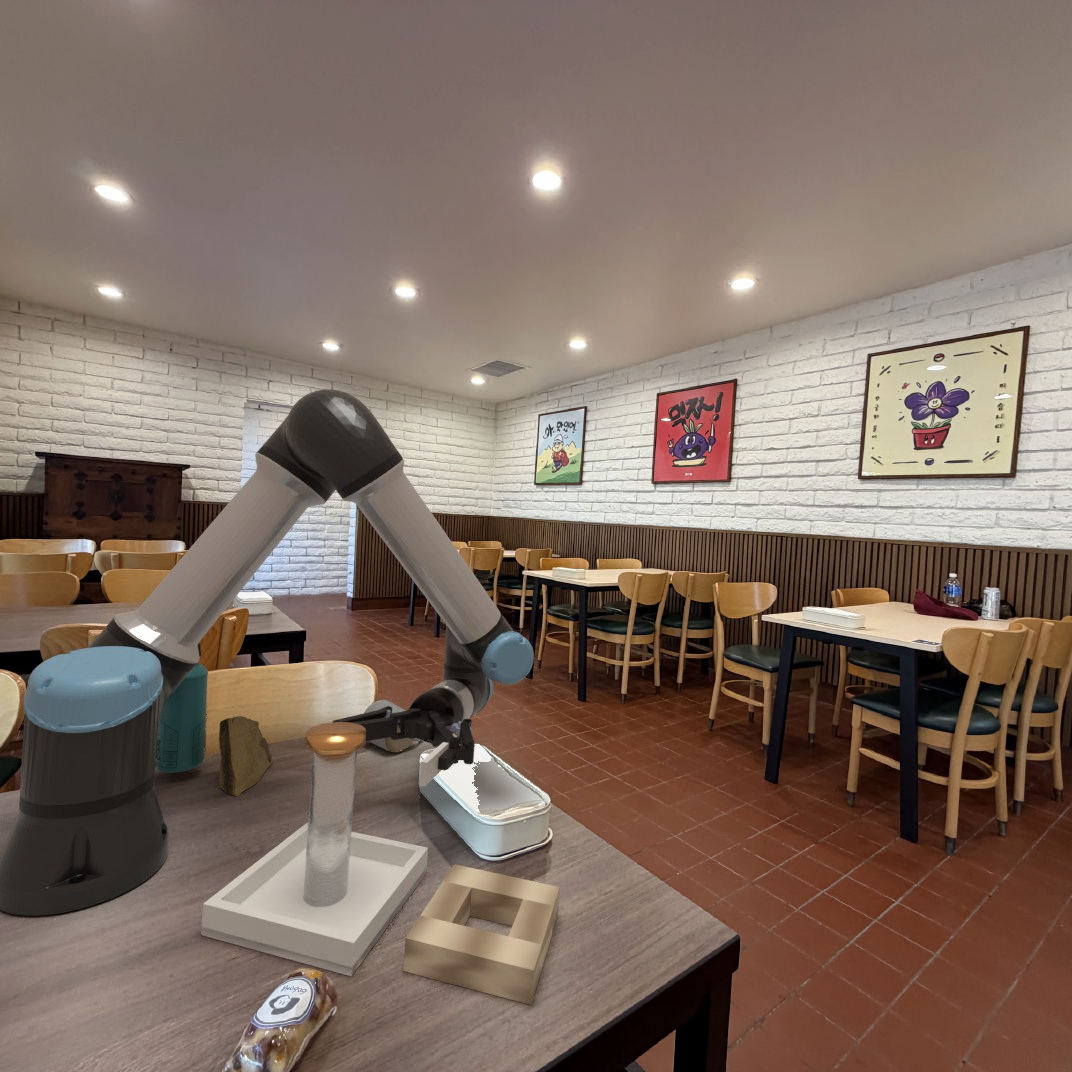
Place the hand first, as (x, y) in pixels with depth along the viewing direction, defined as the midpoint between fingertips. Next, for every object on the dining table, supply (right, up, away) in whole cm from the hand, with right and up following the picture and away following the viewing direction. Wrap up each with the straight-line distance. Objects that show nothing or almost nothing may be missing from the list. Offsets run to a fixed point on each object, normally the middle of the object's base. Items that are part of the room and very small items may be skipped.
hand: (369, 764), depth 66 cm
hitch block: (+15, -13, -11) cm, 22 cm away
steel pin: (-3, -11, -6) cm, 13 cm away
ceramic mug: (-6, -12, +37) cm, 39 cm away
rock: (-24, -10, +20) cm, 33 cm away
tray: (-3, -12, -6) cm, 14 cm away
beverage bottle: (-35, -10, +19) cm, 41 cm away
